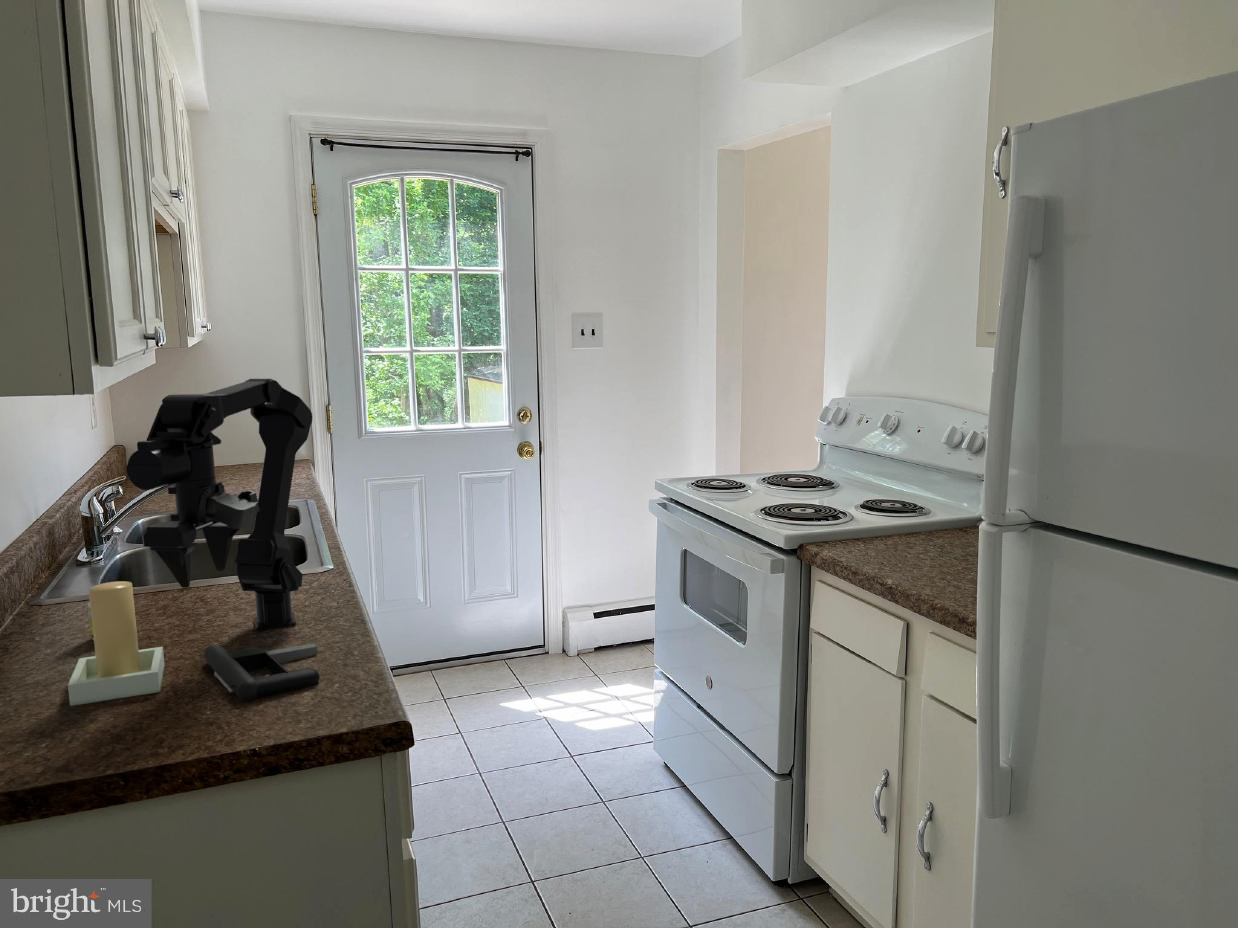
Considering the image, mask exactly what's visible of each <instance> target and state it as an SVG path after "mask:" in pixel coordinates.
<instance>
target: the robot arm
mask: <svg viewBox="0 0 1238 928" xmlns="http://www.w3.org/2000/svg"><path fill="white" fill-rule="evenodd" d="M161 402H162V404H160V406H159V408H158V410H157V413H156V415H155V417H154V421H153V423H152V425H151V427H150V431H149V432H148V435H147V437H146V440H140V441H137V443H136V447H137V450H136V451H134V452H133V453H131V455H130V456H129V459H128V460H127V461H128V462H127V464H126V465H125V466H126V467H125V468H126V473H127V477H128V479H129V481H130V482H131V483H132V485H134V486H135V487H136V488H138V489H140V490H142V491H150V490H154V489H159V488H162V487H167V486H168V487H167V493H168V495H174V496H175V497H174V499H175V500H174V501H175V509H176V512H173V513H171V514H169V515H170V521H161V522H157V523H155V524H152V525H149V526H147V527H145V528H144V530H143V531H142V533H141V537H142V539H141V540H142V544H143V545H142V546H143V547H146V548H147V547H149V550H150V551H154V552H155V553H156V555H158V557H159V558H160V559H161V560H162V562H163V563H164V564H165V566H166V568H168V570H169V571H170V572H171V574H172V575H173V577H174V579H175V580H176V582H177V583H178V585H180V588H183V589H188V588H190V585H191V553H192V552H193V551H194V550H195V548H196V547H197V546H198V542H195V540H196V538H197V536H198V534H197V532H198V531H200V530H202V533H203V536H204V539H205V541H206V545H207V547H208V550H209V553H210V556H211V560H212V562H213V564H214V566H215V569H216V570H217V572H219V571H225V569H226V565H227V562H228V561H227V560H228V557H229V552H230V549H231V545H232V541H233V538H234V536H235V534H237V532H238V531H240V529H242V528H243V527H245V526H247V525H248V526H249V525H252V521H253V517H254V514H255V518H254V524H253V525H254V526H253V530H252V532H251V533H250V534H249V535H248V537H246V538H240V539H239V541H238V543H237V552H236V553H237V554H236V557H235V560H234V564H235V572H236V575H237V578H238V581H239V583H240V587H241V590H242V591H243V592H254V599H255V608H256V609H255V610H256V617H254V618H253V619H254V628H255V629H254V630H255V631H263V630H264V631H265V630H271V629H277V628H284V627H291V626H292V627H294V626H296V625H297V622H296V618H295V613H294V612H293V610H292V597H291V592H297V591H299V589H300V587H301V586H302V584H303V573H302V572H301V571H300V569H299V568H298V567H297V566H296V565H295V564H294V563H293V562H292V548H291V547H290V544H289V542H288V540H287V537H286V536H285V530H286V529H285V528H286V523H287V522H286V521H287V517H288V509H289V502H290V495H291V490H292V489H291V488H292V482H293V474H294V468H295V461H296V456H297V453H298V451H299V450H300V449H301V448H302V446H303V445H304V444H305V443H306V442H307V440H308V439H309V434H310V429H311V426H312V424H313V413H312V411H311V409H310V407H309V406H308V405H307V404H306V403H305V402H304V401H303V399H302V398H301V397H299V396H298V395H296V394H294V393H293V392H291V391H289V390H287V389H285V388H284V387H282V385H281V384H280V383H279V382H278V381H277V380H274V379H272V378H249V379H245V381H243V382H240V383H236V384H233V385H230V386H227V387H226V386H225V387H222V388H220V389H217V390H214V391H209V392H207V393H192V394H191V393H190V394H187V393H186V394H180V393H179V394H169V395H167V396H165V397H163V398H162V400H161ZM246 410H247V411H248V410H250V412H249V413H250V416H252V418H253V419H254V420H255V421H256V422H257V423H258V434H259V437H260V439H261V441H262V442H263V445H264V447H265V448H264V449H265V452H264V459H263V465H262V472H261V478H260V484H259V485H260V486H259V493H258V497H257V492H255V491H253V490H251V489H246V490H242V491H241V492H240V493H239V494H238V495H237V493H233V494H229V493H227V492H225V485H224V484H223V482H222V481H217V480H216V468H215V458H214V457H215V456H214V446H217V445H221V444H222V440H221V439H220V438H219V436H216V435H215V434H214V433H213V431H215V430H216V429H218V428H219V427H220V426H222V425H223V424H224V423H225V419H226V418H227V417H230V416H233V415H236V414H238V413H241V412H243V411H246ZM170 485H171V486H170Z"/></svg>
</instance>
